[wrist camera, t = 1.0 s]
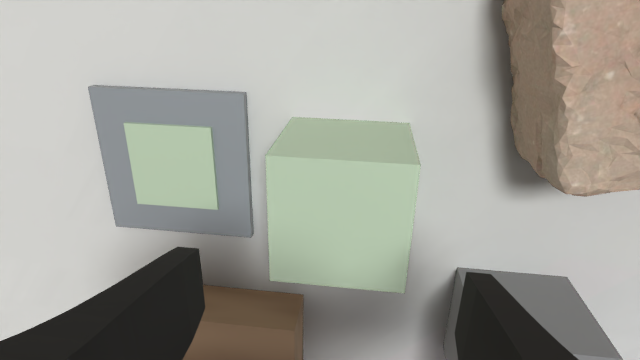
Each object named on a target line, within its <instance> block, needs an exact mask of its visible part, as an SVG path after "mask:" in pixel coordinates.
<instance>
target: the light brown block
mask: <svg viewBox="0 0 640 360" xmlns="http://www.w3.org/2000/svg"><path fill="white" fill-rule="evenodd" d="M203 291H204V299H205V310H204V313H203V316H202V318H201V321H200V324H199V326H198V329H197V331H196V334H195V336H194V339H193V341H192V343H191V345H190V347H189V349H188V350H187V352H186V354H185V356H184V358H183V360H303V295H301V294H291V293H280V292H270V291H260V290H250V289H240V288H230V287H219V286H209V285H203Z"/></svg>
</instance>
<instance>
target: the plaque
mask: <svg viewBox="0 0 640 360" xmlns="http://www.w3.org/2000/svg"><path fill="white" fill-rule="evenodd" d="M88 90H89V95H90V100H91V105H92V110H93V115H94V119H95V124H96V129H97V134H98V139H99V144H100V149H101V154H102V159H103V164H104V169H105V174H106V179H107V184H108V189H109V194H110V199H111V204H112V209H113V214H114V219H115V224H116V226H118V227H130V228H142V229H154V230H166V231H178V232H190V233H202V234H214V235H226V236H238V237H250V238H251V237H252V235H253V214H252V195H251V175H250V156H249V136H248V116H247V97H246V92H231V91H209V90H187V89H166V88H144V87H122V86H100V85H93V86H89V87H88Z"/></svg>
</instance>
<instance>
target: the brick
mask: <svg viewBox="0 0 640 360" xmlns="http://www.w3.org/2000/svg"><path fill="white" fill-rule="evenodd" d="M502 20H503V21H504V24H505V26H506V32H507V34H508V35H509V42H508V45H509V46H510V56H511V73H512V74H513V77H512V79H513V81H514V83H513V86H512V88H511V93H512V100H513V103H512V107H511V126H512V129H513V133H514V142H515V147H516V149H517V151H518V152H519V154H520V156H521V158H523V159H524V160H526V161H528V162H529V163H530V164H531V166H532V168H533V169H534V170H535V171H536V173H537V174H538V175H539V176H540V177H541V178H546V179H547V180H548V181H549V183H550V184H551V185H552V186H553V187H555V188H557V189H558V190H560V191H562V192H564V193H565V194H572V195H576V196H592V195H598V194H604V193H610V192H618V191H629V190H639V189H640V0H505V2H504V4H502Z"/></svg>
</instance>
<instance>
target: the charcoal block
mask: <svg viewBox="0 0 640 360" xmlns="http://www.w3.org/2000/svg"><path fill="white" fill-rule="evenodd" d="M466 272H475V273H486V274H491V275H492V276H493V277H494V278H495V279H496V280H497V281H498V282H499V283H500V284H501V285H502V286H503V287H504V288H505V289H506V290H507V291H508V292H509V293H510V294H511V295H512V296H513V297H514V298H515V299H516V300H517V301H518V302H519V303H520V305H521V306H522V307H523V308H524V309H525V310H526V311H527V312H528V313H529V314H530V315H531V316H532V317H533V318H534V319H535V320H536V321H537V322H538V323H539V324H540V325H541V326H542V327H543V328H545V329H546V330H547V331H548V332H549V333H550V334H551V335H552V336H553V337H554V338H555V339H556V340H557V341H558V342H559V343H560V344H562V345H563V346H564V347H565V348H566V349H567V350H568V351H569V352H571V353H572V354H573V355H574V356H575V357H576V358H577V359H578V360H623V359H622V357H621V356H620V354H619V353H618V351H617V350H616V348H615V347H614V346H613V344H612V343H611V341H610V340H609V338H608V337H607V335H606V334H605V332H604V331H603V329H602V328H601V326H600V325H599V324H598V322H597V321H596V319H595V318H594V316H593V315H592V313H591V312H590V310H589V309H588V307H587V306H586V304H585V303H584V301H583V300H582V299H581V297H580V296H579V294H578V293H577V291H576V290H575V288H574V287H573V285H572V284H571V282H570V281H569V279H568V278H567V277H561V276H550V275H538V274H526V273H515V272H503V271H492V270H480V269H469V268H457V272H456V278H455V283H454V289H453V294H452V300H451V305H450V311H449V316H448V322H447V327H446V333H445V338H444V344H443V348H444V354H445V359H446V360H458V355H457V348H456V340H455V328H456V323H457V317H458V312H459V307H460V302H461V297H462V291H463V286H464V281H465V276H466Z"/></svg>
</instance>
